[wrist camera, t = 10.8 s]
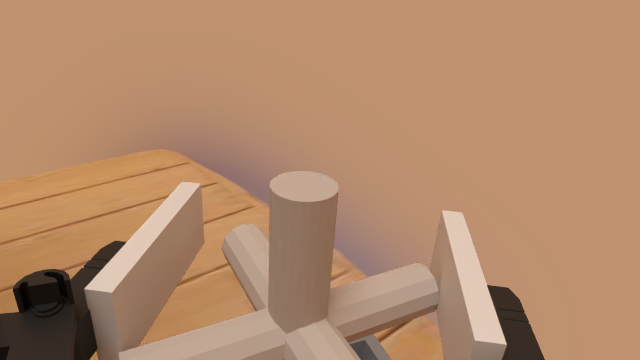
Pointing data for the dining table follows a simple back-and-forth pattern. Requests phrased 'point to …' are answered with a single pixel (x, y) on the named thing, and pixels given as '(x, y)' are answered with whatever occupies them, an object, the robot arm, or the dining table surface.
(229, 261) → the pipe connector
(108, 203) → the dining table surface
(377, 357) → the tray
